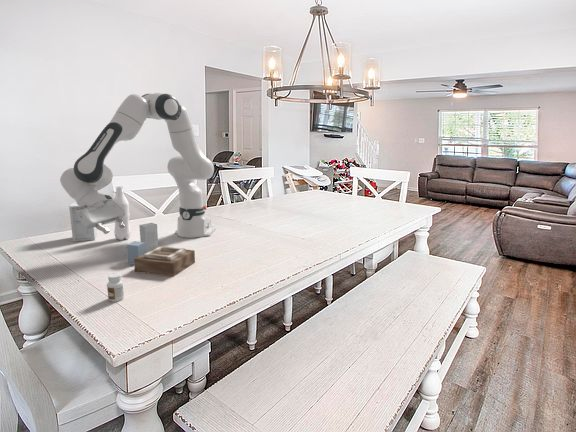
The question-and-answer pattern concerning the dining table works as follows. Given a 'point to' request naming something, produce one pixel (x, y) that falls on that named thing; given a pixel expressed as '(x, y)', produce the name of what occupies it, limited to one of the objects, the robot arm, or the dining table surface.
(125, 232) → the water bottle
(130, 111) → the robot arm
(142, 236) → the skincare box
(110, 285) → the pill bottle
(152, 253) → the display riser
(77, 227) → the supplement box
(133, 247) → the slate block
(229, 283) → the dining table surface
